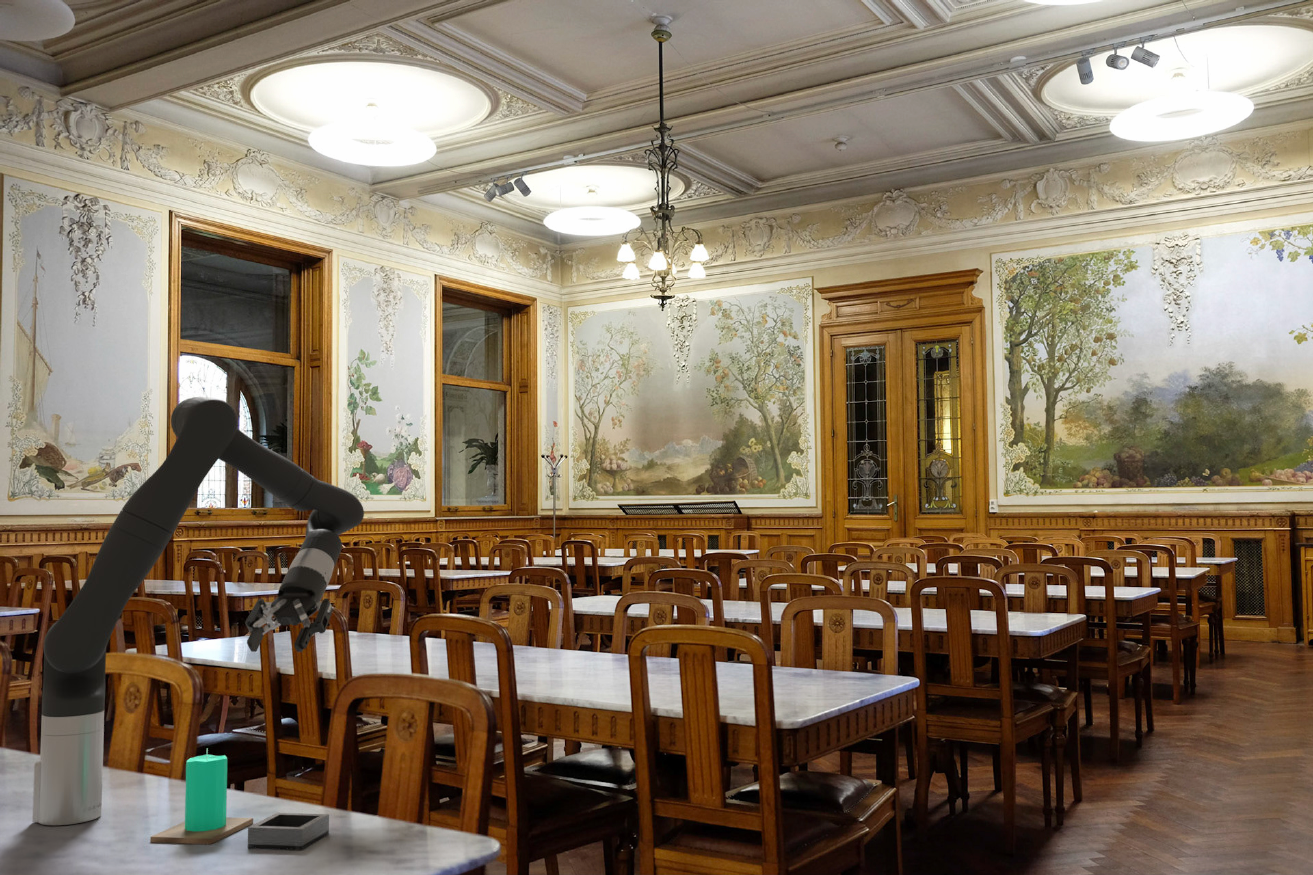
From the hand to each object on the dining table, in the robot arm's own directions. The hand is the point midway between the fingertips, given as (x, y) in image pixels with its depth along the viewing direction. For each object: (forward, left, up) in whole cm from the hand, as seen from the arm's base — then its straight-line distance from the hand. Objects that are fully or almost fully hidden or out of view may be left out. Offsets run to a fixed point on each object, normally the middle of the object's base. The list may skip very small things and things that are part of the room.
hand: (274, 648), depth 189 cm
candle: (-3, -15, -26) cm, 30 cm away
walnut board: (-3, -16, -27) cm, 31 cm away
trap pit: (+13, -19, -27) cm, 35 cm away
